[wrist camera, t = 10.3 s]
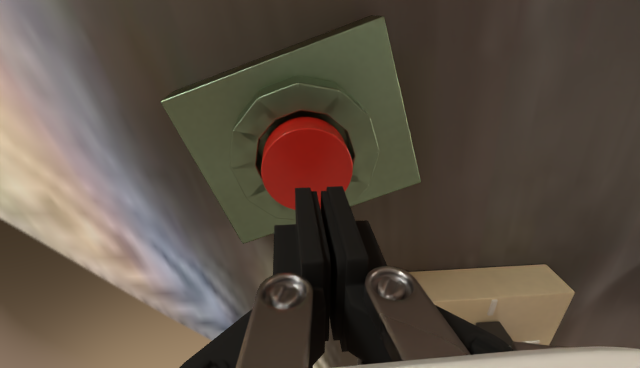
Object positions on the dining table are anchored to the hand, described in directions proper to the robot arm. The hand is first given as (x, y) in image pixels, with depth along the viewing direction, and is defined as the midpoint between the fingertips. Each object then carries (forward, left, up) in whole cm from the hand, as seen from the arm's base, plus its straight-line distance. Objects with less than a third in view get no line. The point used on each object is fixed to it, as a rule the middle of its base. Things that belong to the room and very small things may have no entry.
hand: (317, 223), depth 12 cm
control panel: (-13, +15, -9) cm, 22 cm away
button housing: (0, -1, -9) cm, 9 cm away
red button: (0, -1, -5) cm, 5 cm away
